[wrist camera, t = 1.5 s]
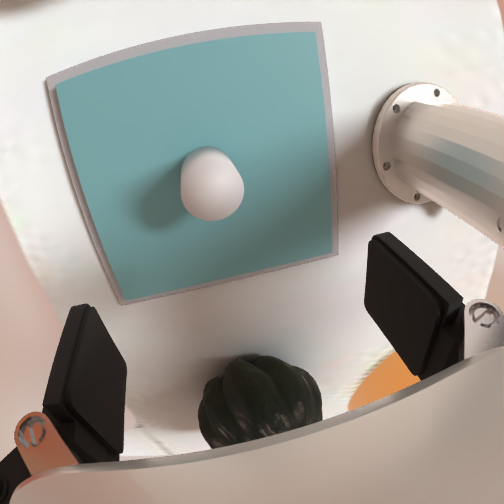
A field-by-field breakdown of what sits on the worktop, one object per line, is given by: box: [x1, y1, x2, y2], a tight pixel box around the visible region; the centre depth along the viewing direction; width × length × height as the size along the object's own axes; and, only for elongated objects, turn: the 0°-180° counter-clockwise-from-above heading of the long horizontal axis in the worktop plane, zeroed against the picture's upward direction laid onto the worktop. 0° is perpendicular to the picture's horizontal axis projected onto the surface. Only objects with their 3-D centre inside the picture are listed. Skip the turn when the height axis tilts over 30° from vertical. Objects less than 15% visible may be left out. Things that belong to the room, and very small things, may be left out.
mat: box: [46, 22, 338, 306], centre depth 25 cm, size 22×22×1 cm
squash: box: [198, 356, 322, 449], centre depth 34 cm, size 14×15×15 cm
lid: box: [55, 32, 332, 301], centre depth 22 cm, size 20×20×6 cm
